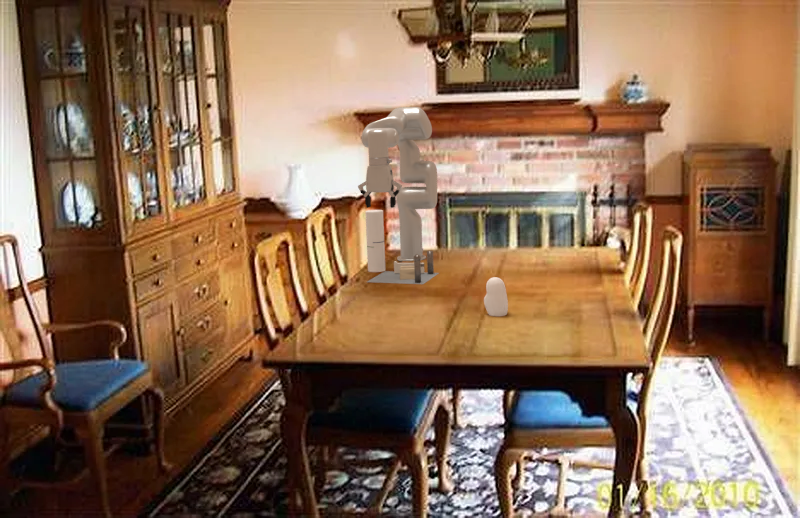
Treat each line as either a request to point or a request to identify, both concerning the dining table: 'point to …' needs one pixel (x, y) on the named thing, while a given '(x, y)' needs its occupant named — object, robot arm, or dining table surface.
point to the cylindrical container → (375, 240)
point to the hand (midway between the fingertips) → (380, 207)
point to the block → (407, 272)
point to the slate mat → (395, 278)
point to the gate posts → (418, 266)
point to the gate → (398, 265)
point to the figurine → (496, 297)
